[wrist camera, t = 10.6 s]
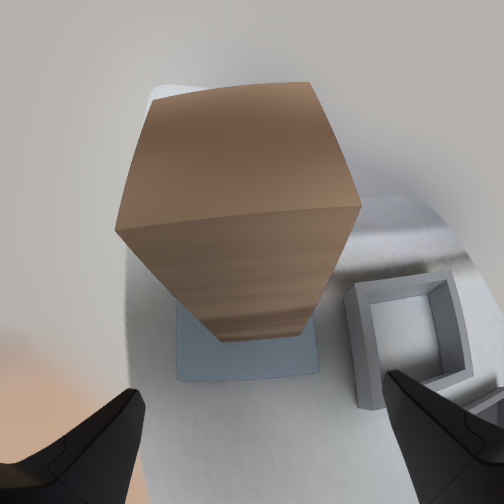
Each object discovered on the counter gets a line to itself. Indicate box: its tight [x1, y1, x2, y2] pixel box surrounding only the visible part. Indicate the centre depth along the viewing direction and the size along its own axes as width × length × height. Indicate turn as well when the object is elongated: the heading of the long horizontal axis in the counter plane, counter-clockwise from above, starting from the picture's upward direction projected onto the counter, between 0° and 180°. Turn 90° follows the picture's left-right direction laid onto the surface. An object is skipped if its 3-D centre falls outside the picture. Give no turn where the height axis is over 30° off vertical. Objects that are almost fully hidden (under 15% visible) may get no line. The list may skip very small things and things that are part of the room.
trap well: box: [462, 387, 504, 428], centre depth 11 cm, size 7×7×2 cm
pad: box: [177, 300, 319, 381], centre depth 19 cm, size 10×9×1 cm
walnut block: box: [115, 82, 362, 342], centre depth 12 cm, size 5×5×14 cm
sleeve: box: [343, 269, 474, 411], centre depth 16 cm, size 8×8×3 cm
